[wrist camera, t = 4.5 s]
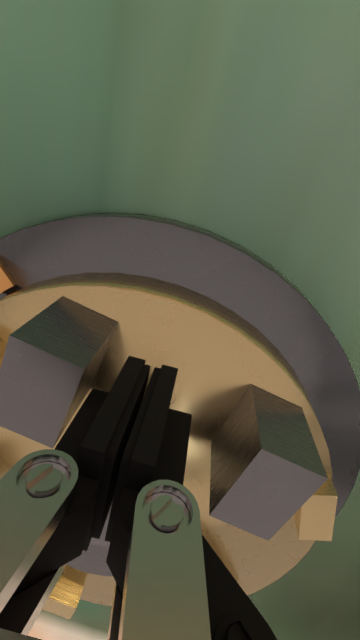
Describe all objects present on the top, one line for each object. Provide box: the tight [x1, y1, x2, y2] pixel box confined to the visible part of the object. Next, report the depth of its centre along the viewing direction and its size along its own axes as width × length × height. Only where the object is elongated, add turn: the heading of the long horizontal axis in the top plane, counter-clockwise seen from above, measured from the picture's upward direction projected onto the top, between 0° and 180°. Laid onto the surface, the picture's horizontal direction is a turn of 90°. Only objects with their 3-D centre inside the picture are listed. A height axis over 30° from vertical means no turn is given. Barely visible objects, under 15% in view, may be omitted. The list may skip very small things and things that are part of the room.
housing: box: [0, 213, 360, 516], centre depth 17 cm, size 22×22×2 cm
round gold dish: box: [0, 273, 338, 619], centre depth 14 cm, size 18×18×5 cm
